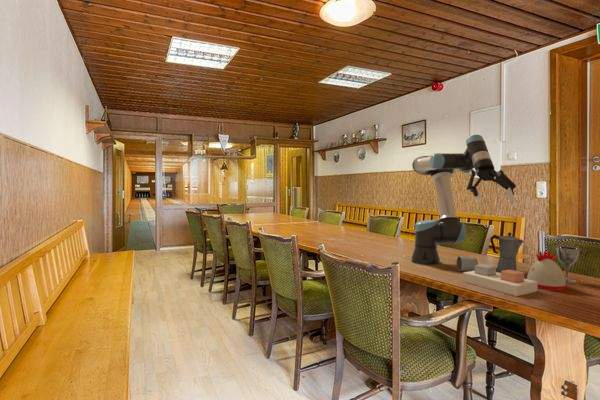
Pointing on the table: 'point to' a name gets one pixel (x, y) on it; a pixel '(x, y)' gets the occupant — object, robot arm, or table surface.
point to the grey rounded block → (485, 269)
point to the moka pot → (507, 251)
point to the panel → (500, 283)
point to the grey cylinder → (466, 263)
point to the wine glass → (567, 258)
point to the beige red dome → (547, 273)
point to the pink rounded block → (512, 276)
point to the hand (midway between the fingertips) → (496, 202)
